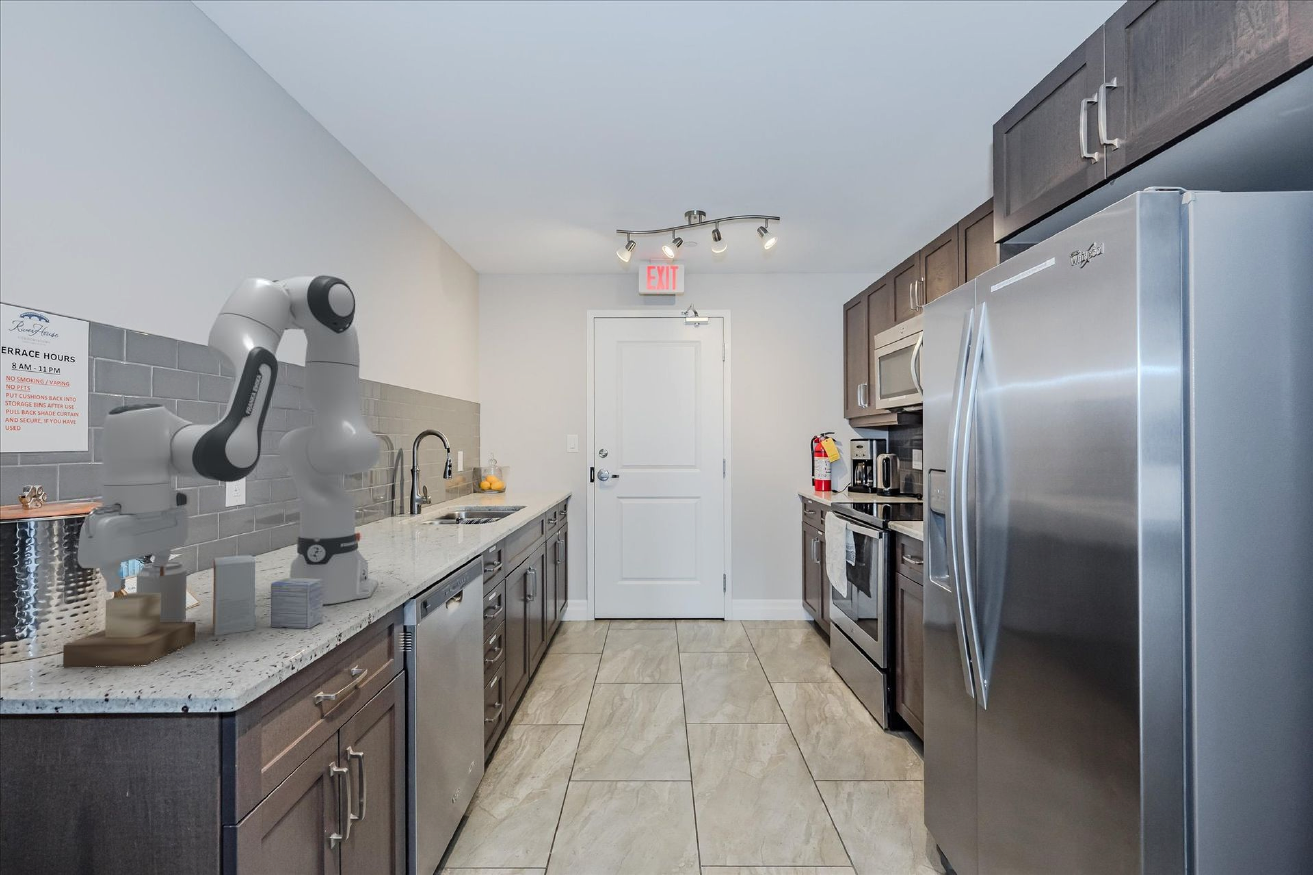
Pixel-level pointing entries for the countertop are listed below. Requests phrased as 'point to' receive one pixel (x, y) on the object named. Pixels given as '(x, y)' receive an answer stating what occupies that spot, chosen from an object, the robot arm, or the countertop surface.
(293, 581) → the medicine box
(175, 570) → the can
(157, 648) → the walnut block
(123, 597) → the maple block
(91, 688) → the countertop surface
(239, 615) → the small box
